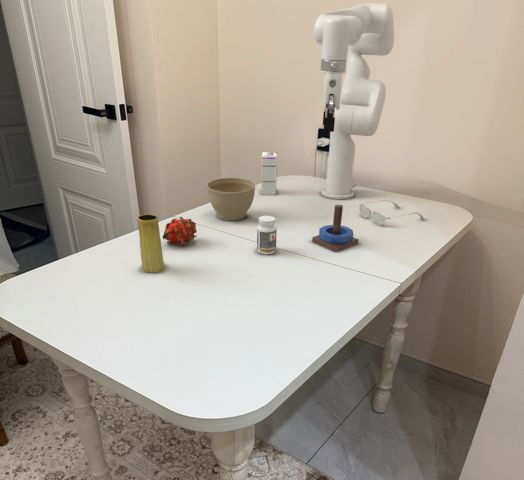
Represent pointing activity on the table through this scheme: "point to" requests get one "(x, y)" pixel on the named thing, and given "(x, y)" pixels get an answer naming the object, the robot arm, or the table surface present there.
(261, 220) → the pill bottle
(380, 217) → the eyeglasses
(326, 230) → the blue ring
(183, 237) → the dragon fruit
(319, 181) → the table surface
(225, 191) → the planter bowl
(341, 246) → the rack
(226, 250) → the table surface
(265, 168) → the syrup box
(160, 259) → the vase
